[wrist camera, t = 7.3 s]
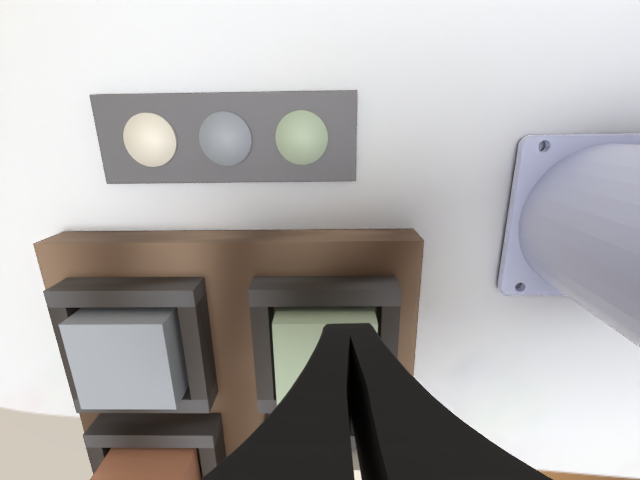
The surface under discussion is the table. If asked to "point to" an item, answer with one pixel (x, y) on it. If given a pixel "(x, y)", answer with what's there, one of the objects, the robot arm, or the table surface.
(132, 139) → the card
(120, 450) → the key terracotta
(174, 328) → the key slate
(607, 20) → the table surface
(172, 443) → the keypad
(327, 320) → the key sage
